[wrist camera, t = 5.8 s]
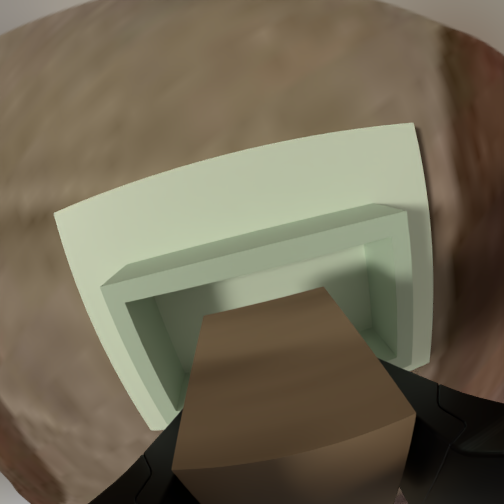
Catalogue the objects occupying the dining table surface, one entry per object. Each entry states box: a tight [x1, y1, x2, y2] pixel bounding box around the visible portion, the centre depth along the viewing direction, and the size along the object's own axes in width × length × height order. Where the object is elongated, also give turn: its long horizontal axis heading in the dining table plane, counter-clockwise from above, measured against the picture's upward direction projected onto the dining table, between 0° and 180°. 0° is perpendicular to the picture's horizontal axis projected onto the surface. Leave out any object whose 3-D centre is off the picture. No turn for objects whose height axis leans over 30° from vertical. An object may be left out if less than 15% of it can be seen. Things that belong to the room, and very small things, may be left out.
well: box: [54, 123, 433, 430], centre depth 13 cm, size 14×18×4 cm
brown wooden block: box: [171, 286, 416, 504], centre depth 7 cm, size 4×4×6 cm
